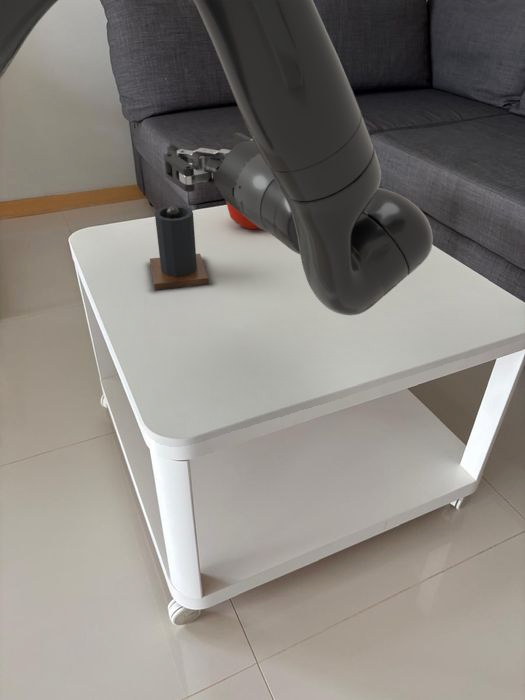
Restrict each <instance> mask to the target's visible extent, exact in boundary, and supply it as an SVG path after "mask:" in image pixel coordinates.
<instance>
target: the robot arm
mask: <svg viewBox="0 0 525 700" xmlns="http://www.w3.org/2000/svg"><path fill="white" fill-rule="evenodd" d="M58 1H59V0H0V80H1V79H2V78H3V76H4V74H6V72H7V70H8V68H9V67H10V65H11V64H12V62H13V61H14V59H15V58H16V56H17V54H18V53H19V51H20V49H21V48H22V47H23V45H24V43H25V42H26V40H27V38H29V35H30V34H31V33H32V31H33V30H34V29H35V27H36V26H37V25H38V23H39V21H41V20H42V18H43V17H44V16H45V15H46V14H47V13H48V11H49V10H50V9H51V8H52V7H53V6H54V5H55V4H56V3H57V2H58ZM192 1H193V2H194V5H195V6H196V7H195V8H196V9H197V11H198V13H199V15H200V18H201V20H202V22H203V24H204V26H205V28H206V31H207V33H208V36H209V38H210V40H211V43H212V45H213V47H214V50H215V52H216V55H217V57H218V60H219V62H220V65H221V67H222V70H223V73H224V75H225V77H226V80H227V83H228V85H229V87H230V90H231V93H232V95H233V97H234V100H235V102H236V105H237V107H238V109H239V112H240V115H241V117H242V119H243V122H244V124H245V126H246V128H247V131H248V132H249V134H250V137H249V136H247V135H245V134H243V133H241V132H239V131H238V132H233V134H232V135H233V136H232V139H233V140H232V141H233V143H232V147H233V148H231V149H227V148H221V149H220V150H218V149H214V148H213V149H211V148H205V147H199V148H197V149H195V150H190V149H187V148H185V147H184V146H183V145H181V144H180V143H178V142H177V141H170V142H169V146H166V151H167V152H165V153H164V154H163V160H164V169H165V172H164V174H165V178H166V179H168V180H169V181H170V182H172V183H173V184H174V185H176V186H178V187H179V188H180V189H181V190H182V191H185V192H188V193H191V192H194V191H195V190H196V184H197V183H198V184H199V183H205V184H207V185H209V186H214V187H216V188H217V190H218V191H219V192H220V194H221V196H222V198H223V199H224V200H225V202H226V201H227V203H229V204H230V205H231V206H232V207H233V208H235V209H236V210H237V211H239V212H240V213H241V214H242V215H244V216H245V217H246V218H247V219H249V220H250V221H251V222H252V223H254V224H255V225H256V226H258V227H259V228H260V229H261V230H263V231H264V232H266V233H269V234H271V236H273V237H275V239H277V240H278V241H279V242H280V243H282V244H283V245H285V246H286V247H287V248H288V249H290V250H291V251H292V252H294V253H296V254H298V255H300V260H301V266H302V269H303V273H304V275H305V278H306V280H307V284H308V286H309V288H310V289H311V291H312V292H313V294H314V295H315V297H316V299H317V300H318V301H319V302H320V303H321V304H322V305H323V306H324V307H326V308H327V309H328V310H330V311H331V312H333V313H335V314H339V315H342V316H351V317H352V316H357V315H358V316H359V315H361V314H363V313H365V312H367V311H368V310H370V309H371V308H373V307H374V306H375V305H376V304H377V303H379V302H380V300H382V299H383V298H385V296H387V295H388V294H389V293H390V292H391V291H392V290H394V289H395V288H396V287H397V285H399V284H400V283H401V282H402V281H403V280H405V279H406V278H407V277H408V276H410V274H412V273H413V272H415V270H416V269H418V268H419V267H420V266H421V265H422V264H423V263H424V262H425V260H426V259H427V258H428V257H429V255H430V253H431V251H432V248H433V243H434V238H433V229H432V227H431V224H430V222H429V219H428V218H427V216H426V214H425V213H424V212H423V211H422V210H421V209H420V207H419V206H418V205H417V204H415V203H414V202H413V201H412V200H410V199H408V198H407V197H406V196H404V195H402V194H400V193H397V192H395V191H392V190H390V189H387V188H384V187H383V188H382V187H380V185H381V182H382V168H381V163H380V160H379V156H378V153H377V151H376V148H375V146H374V144H373V140H372V137H371V134H370V132H369V128H368V127H367V124H366V121H365V119H364V115H363V113H362V111H361V108H360V105H359V103H358V101H357V97H356V95H355V93H354V90H353V88H352V85H351V83H350V80H349V78H348V76H347V73H346V72H345V69H344V67H343V64H342V62H341V60H340V57H339V55H338V53H337V51H336V48H335V46H334V45H333V42H332V40H331V38H330V35H329V33H328V31H327V29H326V26H325V24H324V22H323V20H322V17H321V16H320V13H319V10H318V8H317V7H316V4H315V2H314V0H192ZM205 158H208V159H207V161H206V163H205ZM189 159H191V160H192V161H193V162H189ZM227 203H226V204H227Z"/></svg>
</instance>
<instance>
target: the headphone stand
mask: <svg viewBox="0 0 525 700" xmlns="http://www.w3.org/2000/svg"><path fill="white" fill-rule="evenodd" d="M170 206H171V207H169V208H168V209H167V218H170V219H175V218H180V215H179V210H178V208H177V207H174V205H170ZM196 262H197V269H196V270H195V271H194V272H193V273H191V274H189V275H186V276H178V277H175V276H168V275H166V274H165V273H163V272H162V270H161V264H160V257H152V258H149V265H150V270H151V272H150V273H151V276H152V282H153V288H154V289H153V290H154V291H159V290H167V289H177V288H184V287H185V288H186V287H193V286H202V285H209V276H208V272H207V270H206V267H205V264H204V260H203V257H202V255H201V253H196Z"/></svg>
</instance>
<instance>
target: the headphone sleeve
mask: <svg viewBox="0 0 525 700" xmlns="http://www.w3.org/2000/svg"><path fill="white" fill-rule="evenodd" d="M171 206H172V205H165V206H162V207H159V208H158V209H157V210H156V211H155V212H154V218H155V227H156V228H155V229H156V234H157V245H158V255H159V258H160V264H161V270H162V272H163V273H165V274H166V275H168V276H175V277H178V276H186V275H189V274H191V273H193V272H194V271H195V270H196V269H197V262H196V254H197V249H196V238H195V237H196V235H195V233H196V232H195V221H194V219H195V218H194V212H193V209H192V208H190V207H188V206H185V205H179V204H175V205H173V206H174V207H177V208H178V210H179V215H180V218H175V219H170V218H167V209H168V208H169V207H171Z"/></svg>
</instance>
